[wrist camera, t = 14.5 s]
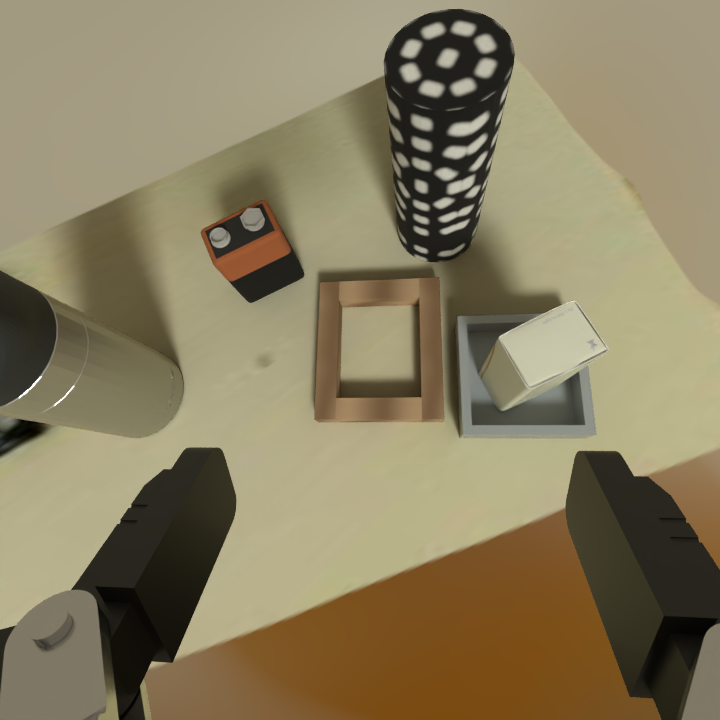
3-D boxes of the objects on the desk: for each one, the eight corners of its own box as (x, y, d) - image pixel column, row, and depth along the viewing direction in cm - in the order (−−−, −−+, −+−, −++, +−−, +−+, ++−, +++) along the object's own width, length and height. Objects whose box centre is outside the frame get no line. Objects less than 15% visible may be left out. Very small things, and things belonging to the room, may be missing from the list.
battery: (306, 278, 49) (279, 227, 39) (250, 305, 49) (208, 262, 39) (291, 246, 50) (261, 190, 40) (236, 273, 50) (192, 223, 40)
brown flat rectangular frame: (319, 422, 44) (314, 419, 42) (324, 290, 48) (320, 282, 46) (443, 421, 43) (444, 418, 41) (438, 285, 46) (439, 277, 45)
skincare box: (534, 346, 43) (577, 294, 31) (560, 387, 42) (614, 349, 30) (475, 374, 43) (495, 333, 31) (498, 416, 42) (529, 390, 30)
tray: (460, 437, 42) (462, 434, 39) (455, 326, 45) (457, 316, 42) (584, 438, 41) (596, 434, 38) (570, 323, 44) (581, 312, 41)
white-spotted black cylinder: (457, 273, 47) (484, 126, 27) (385, 246, 48) (362, 91, 29) (488, 207, 48) (534, 25, 29) (416, 184, 50) (415, -3, 31)
